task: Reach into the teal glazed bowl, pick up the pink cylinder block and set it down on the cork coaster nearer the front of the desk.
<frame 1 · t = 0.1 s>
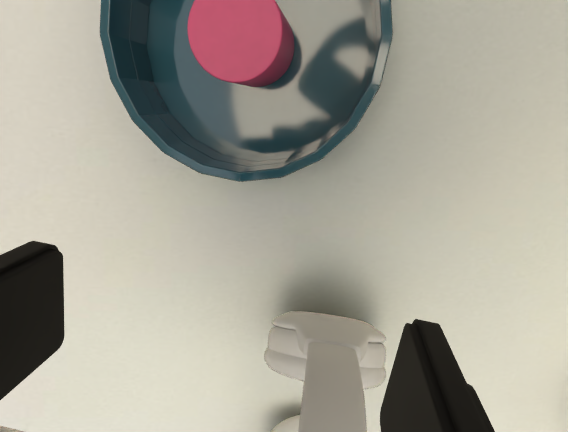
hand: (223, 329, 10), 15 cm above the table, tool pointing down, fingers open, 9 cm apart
pink cylinder block: (256, 46, 22), resting on bowl
headphones: (318, 376, 29), on the table
bowl: (257, 47, 23), on the table
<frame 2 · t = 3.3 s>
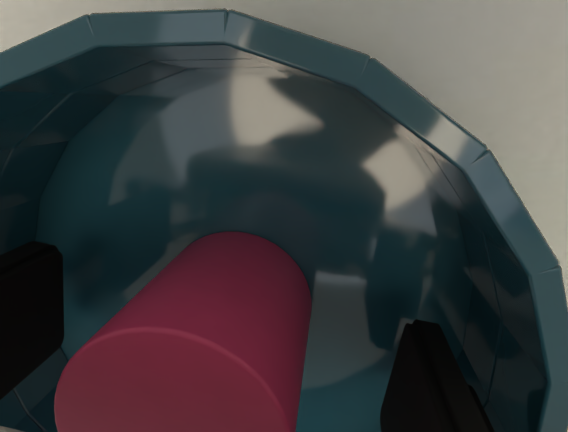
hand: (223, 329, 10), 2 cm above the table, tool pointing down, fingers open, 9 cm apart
pink cylinder block: (238, 300, 12), resting on bowl
bowl: (242, 292, 12), on the table
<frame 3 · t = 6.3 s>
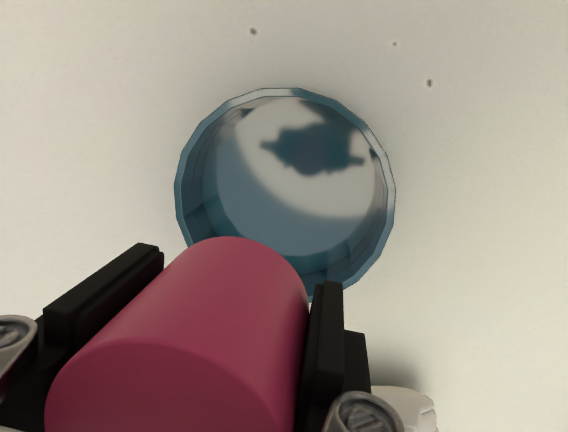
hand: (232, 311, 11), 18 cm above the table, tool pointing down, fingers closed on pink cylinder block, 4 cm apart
pink cylinder block: (234, 306, 11), point 18 cm above the table, touching gripper
bowl: (288, 190, 29), on the table
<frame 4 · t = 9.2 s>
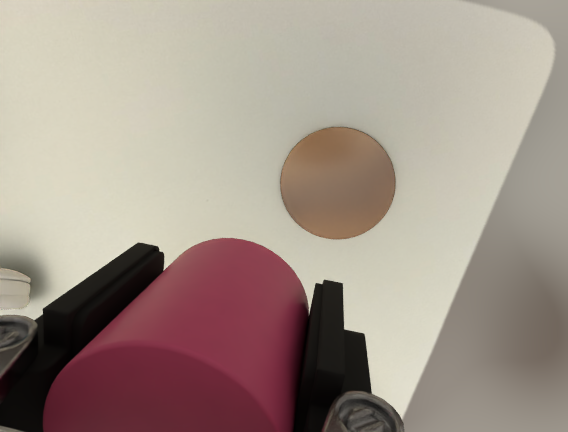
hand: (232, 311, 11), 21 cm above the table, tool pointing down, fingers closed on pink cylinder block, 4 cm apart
pink cylinder block: (234, 307, 11), point 21 cm above the table, touching gripper
coaster: (336, 184, 31), on the table
headphones: (30, 319, 39), on the table
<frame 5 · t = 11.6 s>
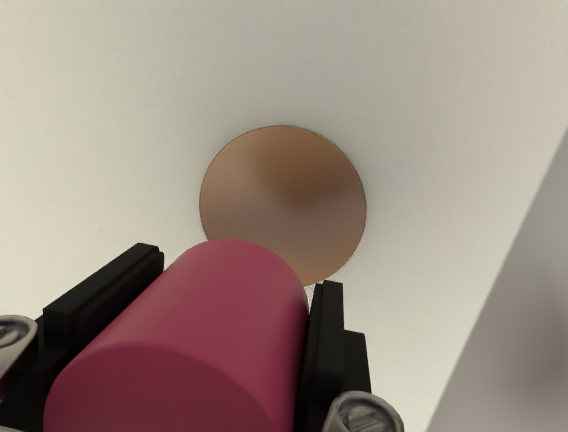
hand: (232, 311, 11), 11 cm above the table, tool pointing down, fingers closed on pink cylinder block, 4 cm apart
pink cylinder block: (234, 308, 11), point 10 cm above the table, touching gripper
coaster: (281, 209, 21), on the table
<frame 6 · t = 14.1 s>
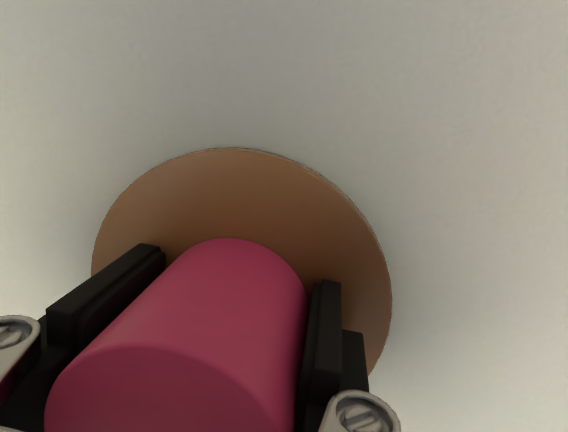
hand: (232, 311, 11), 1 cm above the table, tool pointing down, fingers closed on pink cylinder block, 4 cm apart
pink cylinder block: (234, 307, 11), point 1 cm above the table, touching coaster, gripper
coaster: (238, 296, 12), on the table
when the fingers open (1 cm above the table, at t = 14.2 s): pink cylinder block stays where it is, resting on coaster.
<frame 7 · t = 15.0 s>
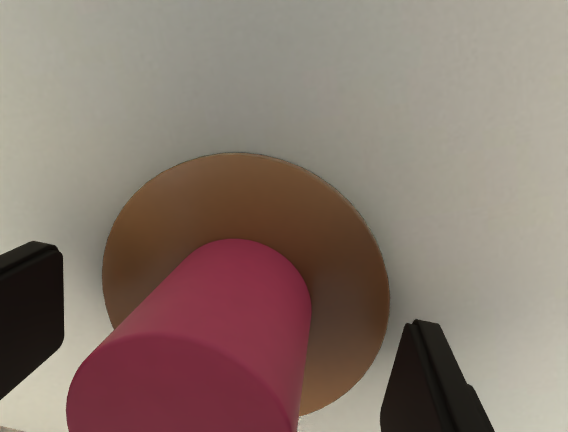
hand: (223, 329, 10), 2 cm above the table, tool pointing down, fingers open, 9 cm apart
pink cylinder block: (240, 305, 12), resting on coaster
coaster: (243, 294, 12), on the table
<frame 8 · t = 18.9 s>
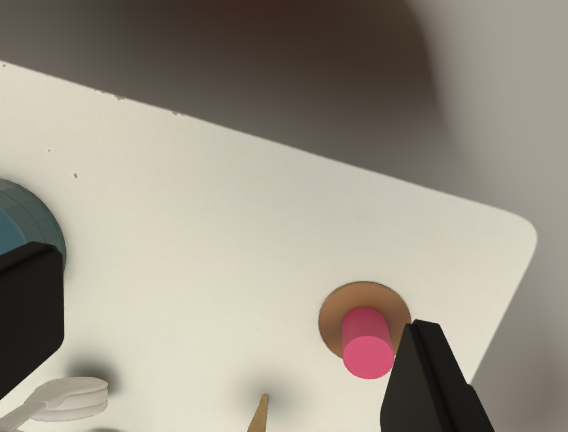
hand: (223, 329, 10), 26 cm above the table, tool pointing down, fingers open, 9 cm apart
pink cylinder block: (364, 326, 38), resting on coaster
ice cream cone: (265, 394, 43), on the table
coaster: (363, 322, 39), on the table
headphones: (102, 410, 47), on the table
bowl: (5, 242, 42), on the table
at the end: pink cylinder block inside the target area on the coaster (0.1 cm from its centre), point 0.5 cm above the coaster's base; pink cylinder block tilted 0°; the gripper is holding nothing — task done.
